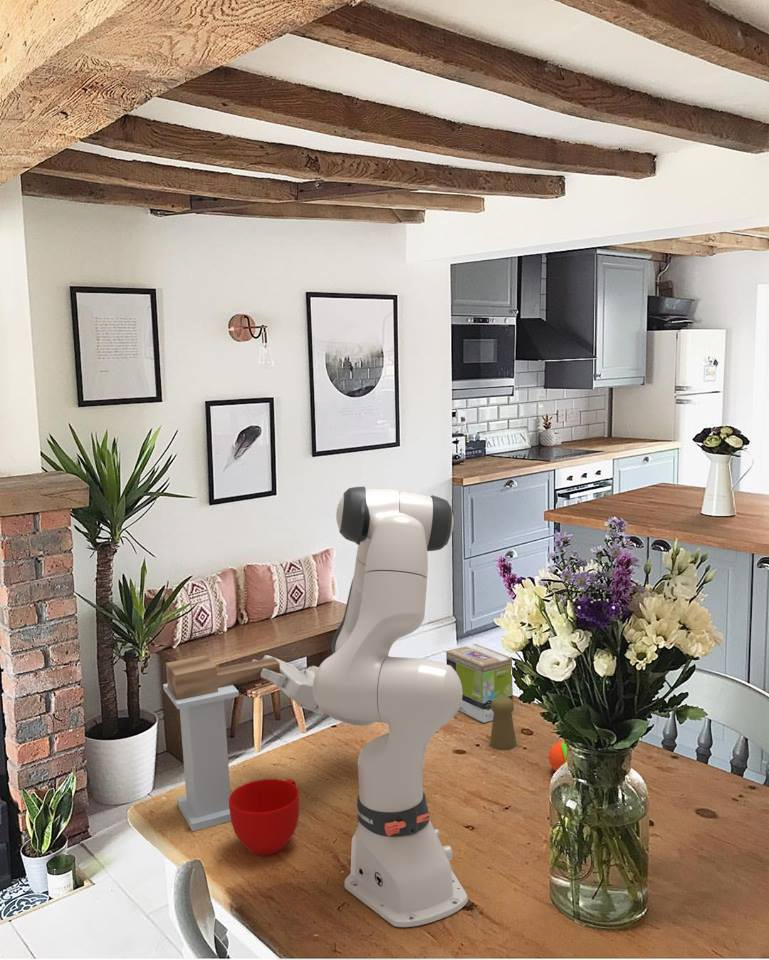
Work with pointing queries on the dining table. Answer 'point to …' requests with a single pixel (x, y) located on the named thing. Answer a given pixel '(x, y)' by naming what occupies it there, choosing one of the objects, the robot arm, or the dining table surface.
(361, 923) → the dining table surface
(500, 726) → the brown pawn
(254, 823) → the ceramic cup
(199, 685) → the handled block
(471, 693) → the tea box
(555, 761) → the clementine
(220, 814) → the painted stand
